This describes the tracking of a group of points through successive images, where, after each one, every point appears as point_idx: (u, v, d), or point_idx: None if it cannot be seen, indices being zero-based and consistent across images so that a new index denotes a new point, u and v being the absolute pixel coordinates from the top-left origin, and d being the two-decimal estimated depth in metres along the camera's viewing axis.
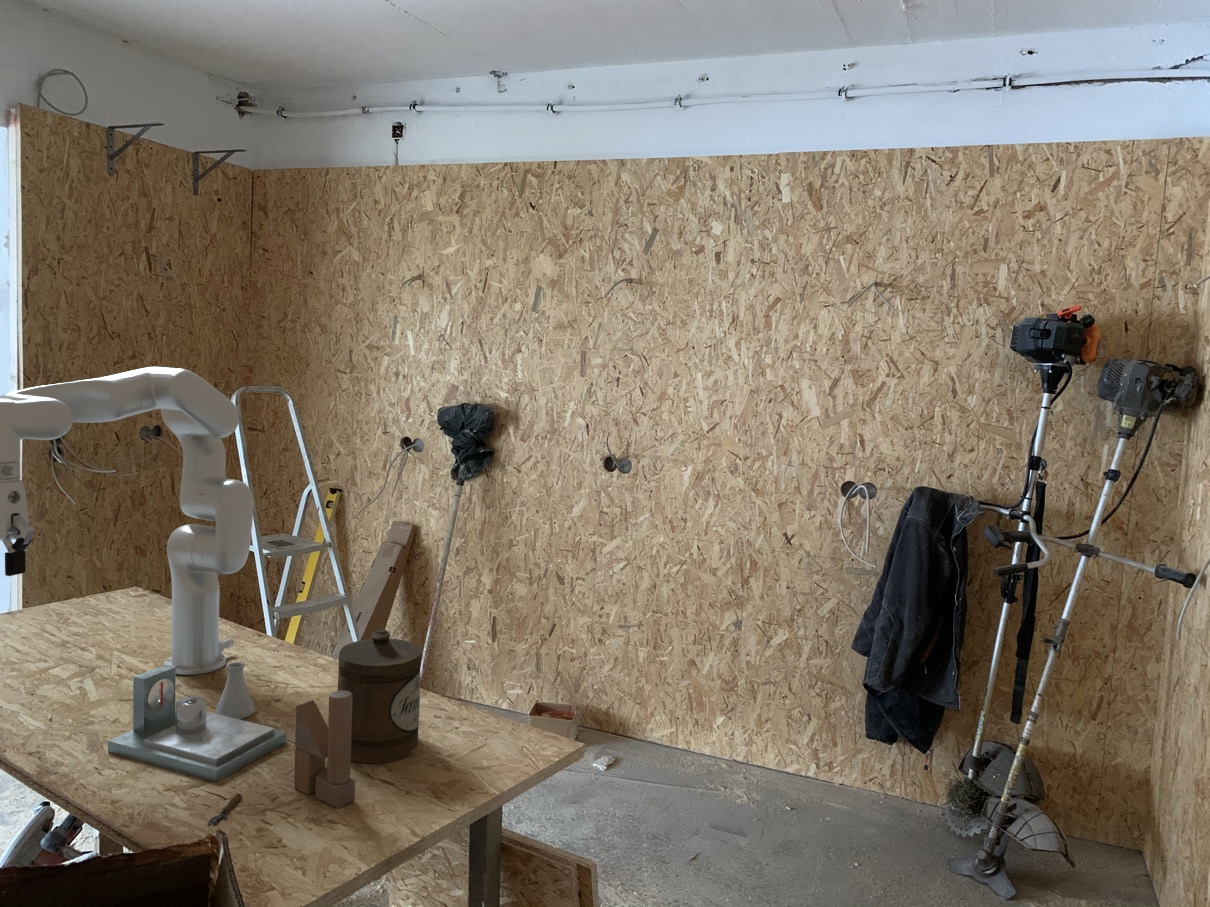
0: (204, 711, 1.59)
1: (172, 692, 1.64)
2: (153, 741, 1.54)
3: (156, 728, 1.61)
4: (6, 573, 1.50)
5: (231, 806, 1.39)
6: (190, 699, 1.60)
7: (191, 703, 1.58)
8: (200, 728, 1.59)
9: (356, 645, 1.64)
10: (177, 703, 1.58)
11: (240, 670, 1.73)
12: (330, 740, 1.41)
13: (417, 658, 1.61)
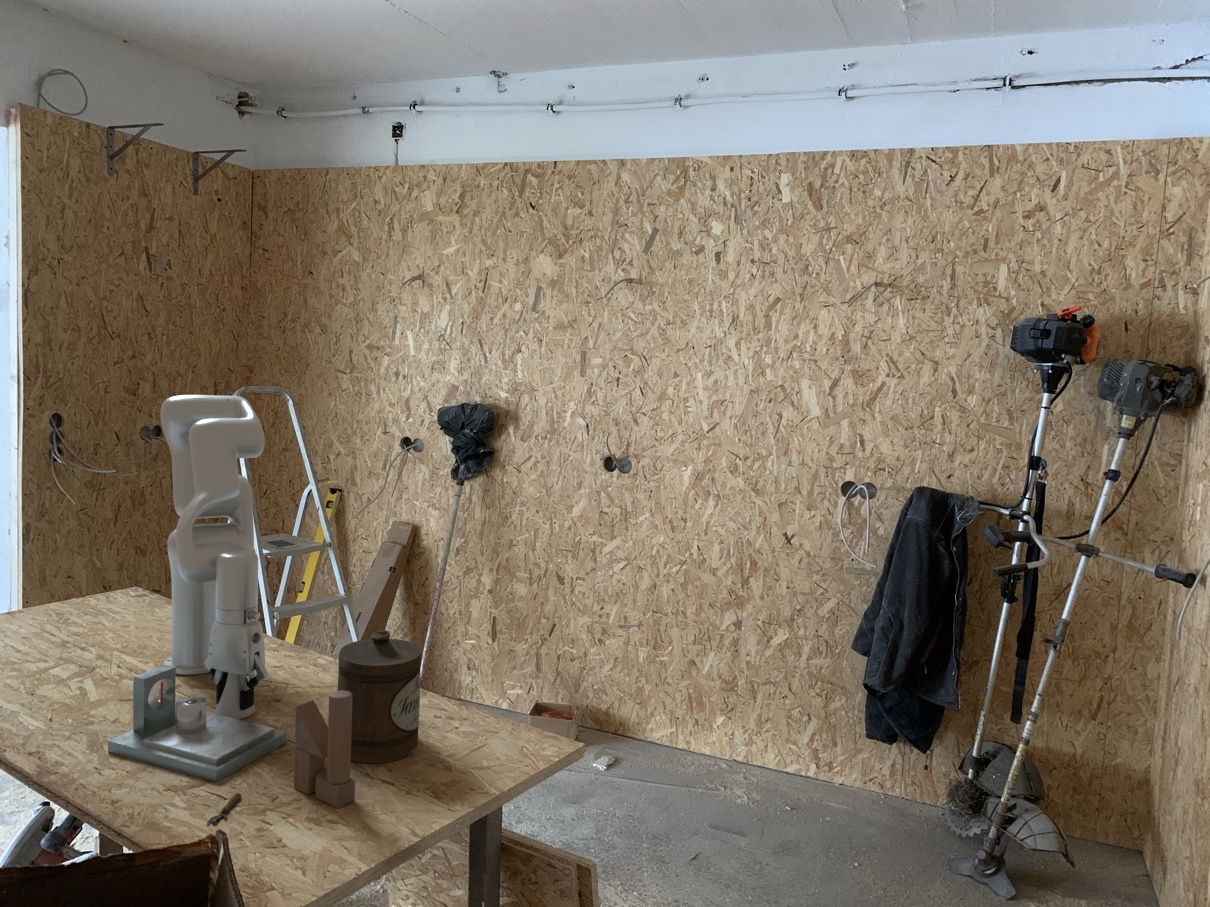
0: (204, 711, 1.59)
1: (172, 692, 1.64)
2: (153, 741, 1.54)
3: (156, 728, 1.61)
4: (241, 708, 1.72)
5: (231, 806, 1.39)
6: (190, 699, 1.60)
7: (191, 703, 1.58)
8: (200, 728, 1.59)
9: (356, 645, 1.64)
10: (177, 703, 1.58)
11: None
12: (330, 740, 1.41)
13: (417, 658, 1.61)
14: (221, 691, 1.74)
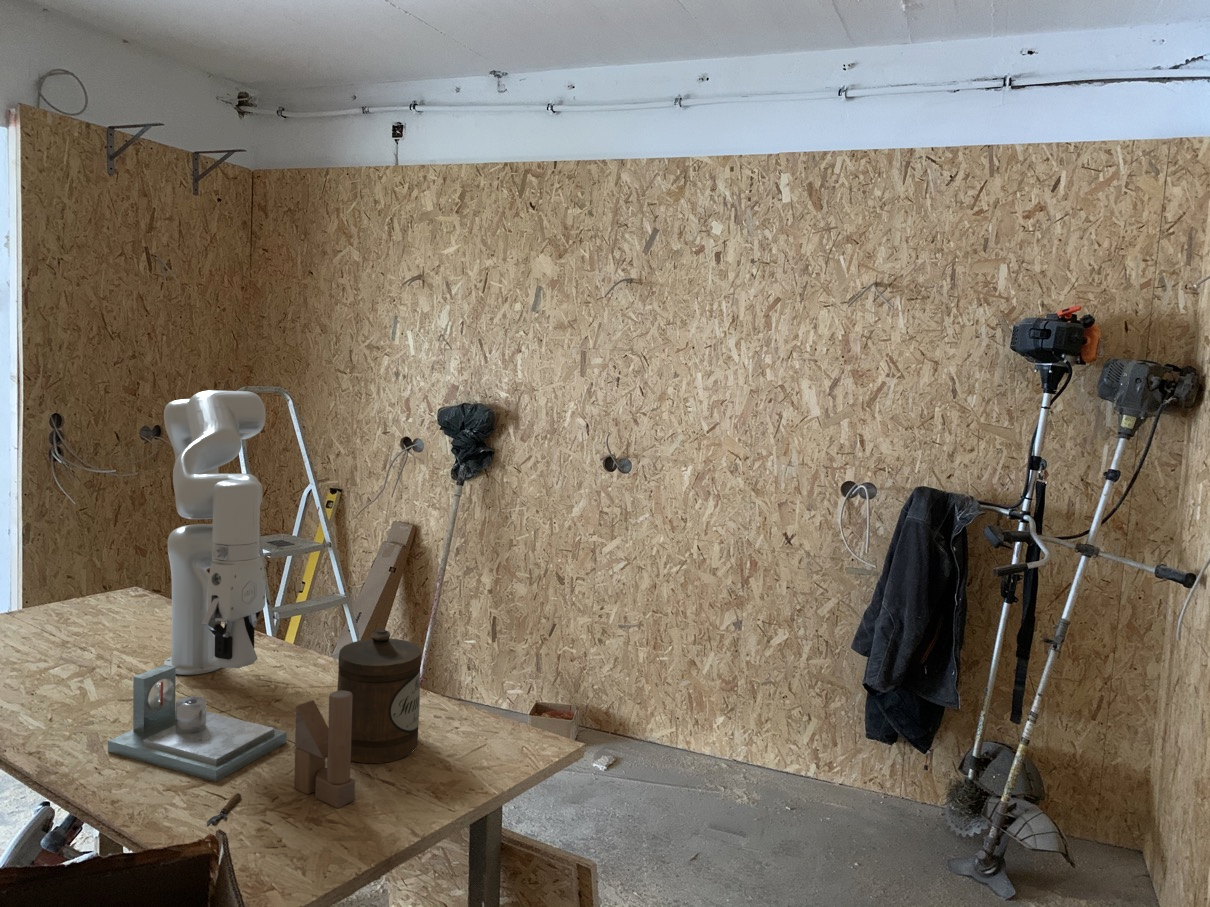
0: (204, 711, 1.59)
1: (172, 692, 1.64)
2: (153, 741, 1.54)
3: (156, 728, 1.61)
4: (215, 654, 1.54)
5: (230, 806, 1.39)
6: (190, 699, 1.60)
7: (191, 703, 1.58)
8: (200, 728, 1.59)
9: (356, 645, 1.64)
10: (177, 703, 1.58)
11: None
12: (330, 740, 1.41)
13: (417, 658, 1.61)
14: None
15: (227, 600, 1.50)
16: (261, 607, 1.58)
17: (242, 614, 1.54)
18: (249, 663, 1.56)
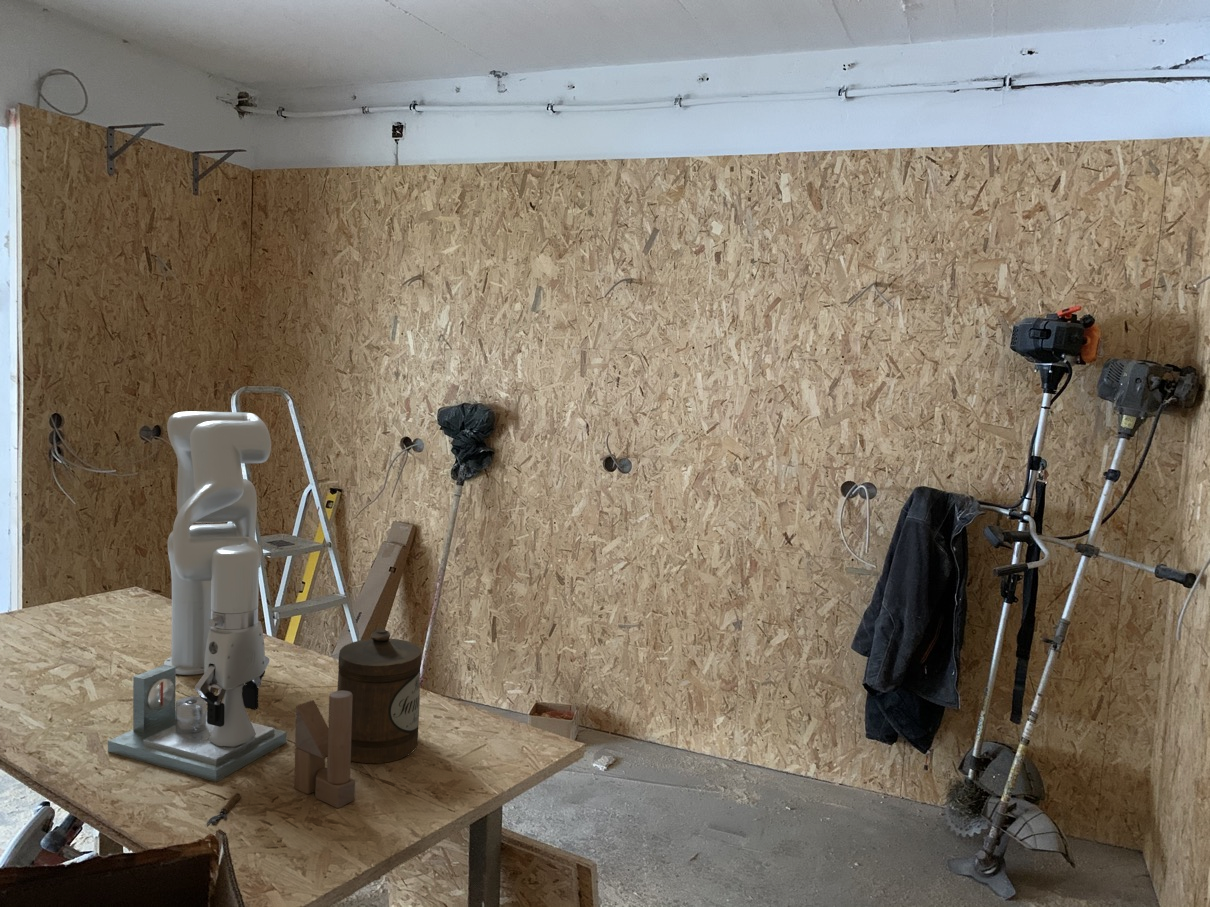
0: (204, 711, 1.59)
1: (172, 692, 1.64)
2: (153, 741, 1.54)
3: (156, 728, 1.61)
4: (208, 720, 1.53)
5: (230, 806, 1.39)
6: (190, 699, 1.60)
7: (191, 703, 1.58)
8: (200, 728, 1.59)
9: (356, 645, 1.64)
10: (177, 703, 1.58)
11: (227, 691, 1.54)
12: (330, 740, 1.41)
13: (417, 658, 1.60)
14: (243, 693, 1.60)
15: (223, 669, 1.50)
16: (260, 673, 1.58)
17: (240, 682, 1.53)
18: (246, 740, 1.55)
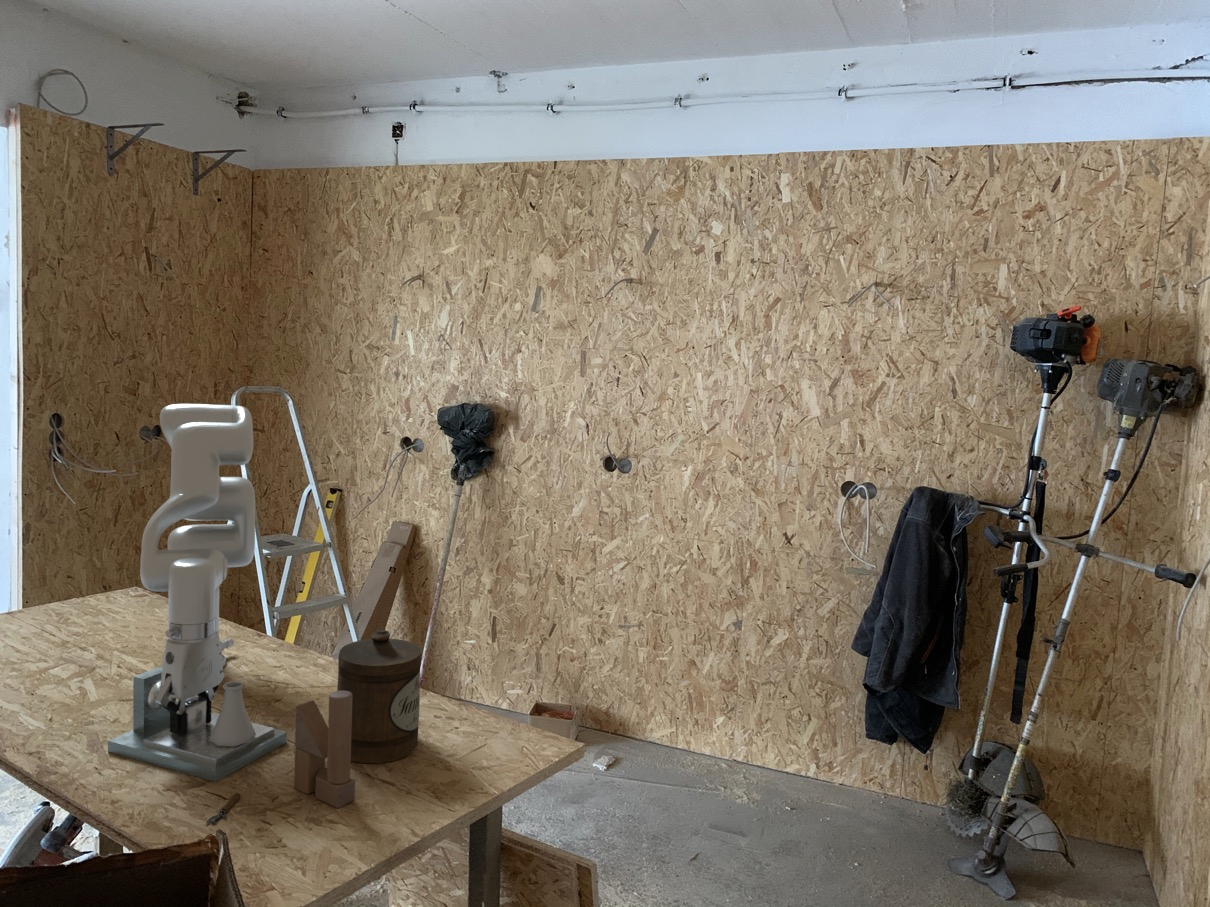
0: (204, 711, 1.59)
1: None
2: (153, 741, 1.54)
3: (156, 728, 1.61)
4: (170, 729, 1.58)
5: (230, 806, 1.39)
6: (190, 699, 1.60)
7: (191, 703, 1.58)
8: (200, 728, 1.59)
9: (356, 645, 1.64)
10: (177, 703, 1.58)
11: (227, 691, 1.55)
12: (330, 740, 1.41)
13: (417, 658, 1.60)
14: None
15: (180, 679, 1.53)
16: (217, 682, 1.61)
17: (196, 691, 1.56)
18: (246, 740, 1.55)
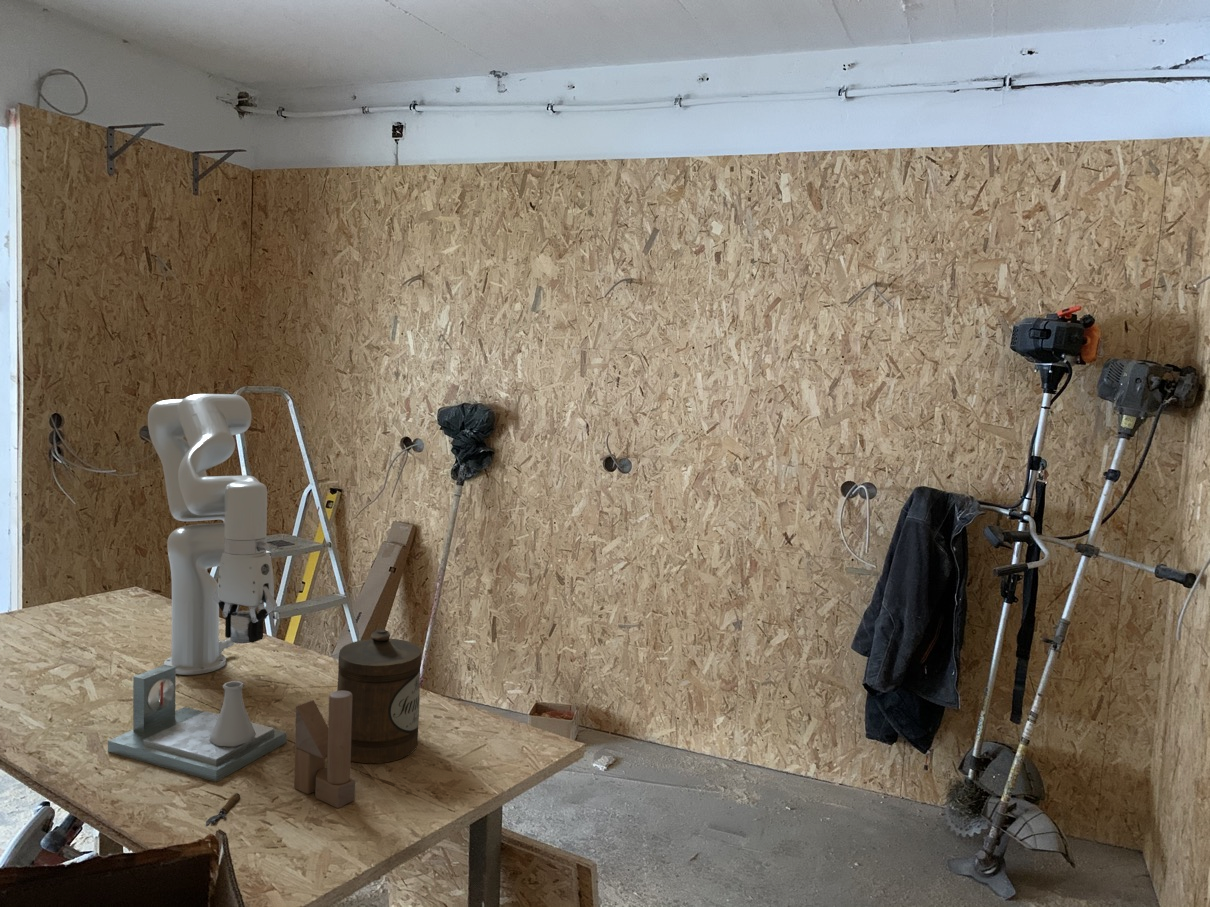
0: None
1: (172, 692, 1.64)
2: (153, 741, 1.54)
3: (156, 728, 1.61)
4: (250, 640, 1.71)
5: (229, 806, 1.39)
6: (238, 614, 1.72)
7: (249, 613, 1.73)
8: None
9: (356, 645, 1.64)
10: (246, 617, 1.71)
11: (227, 691, 1.55)
12: (330, 740, 1.41)
13: (417, 658, 1.60)
14: (230, 624, 1.73)
15: (273, 583, 1.72)
16: None
17: None
18: (246, 740, 1.55)
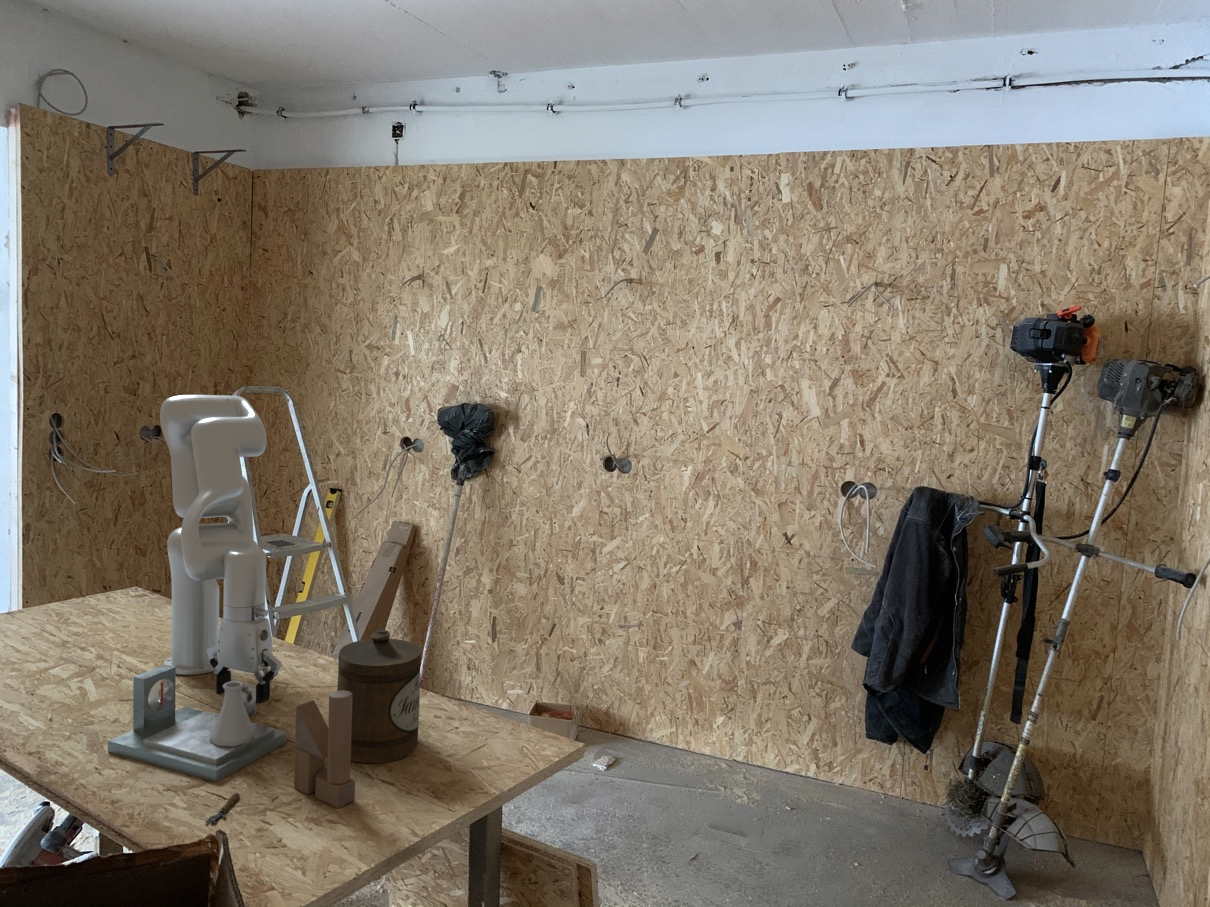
0: None
1: (172, 692, 1.64)
2: (153, 741, 1.54)
3: (156, 728, 1.61)
4: (257, 702, 1.71)
5: (229, 806, 1.39)
6: None
7: (247, 687, 1.75)
8: None
9: (356, 645, 1.64)
10: (244, 692, 1.73)
11: (227, 691, 1.55)
12: (330, 740, 1.41)
13: (417, 658, 1.60)
14: (221, 681, 1.75)
15: None
16: None
17: None
18: (246, 740, 1.55)
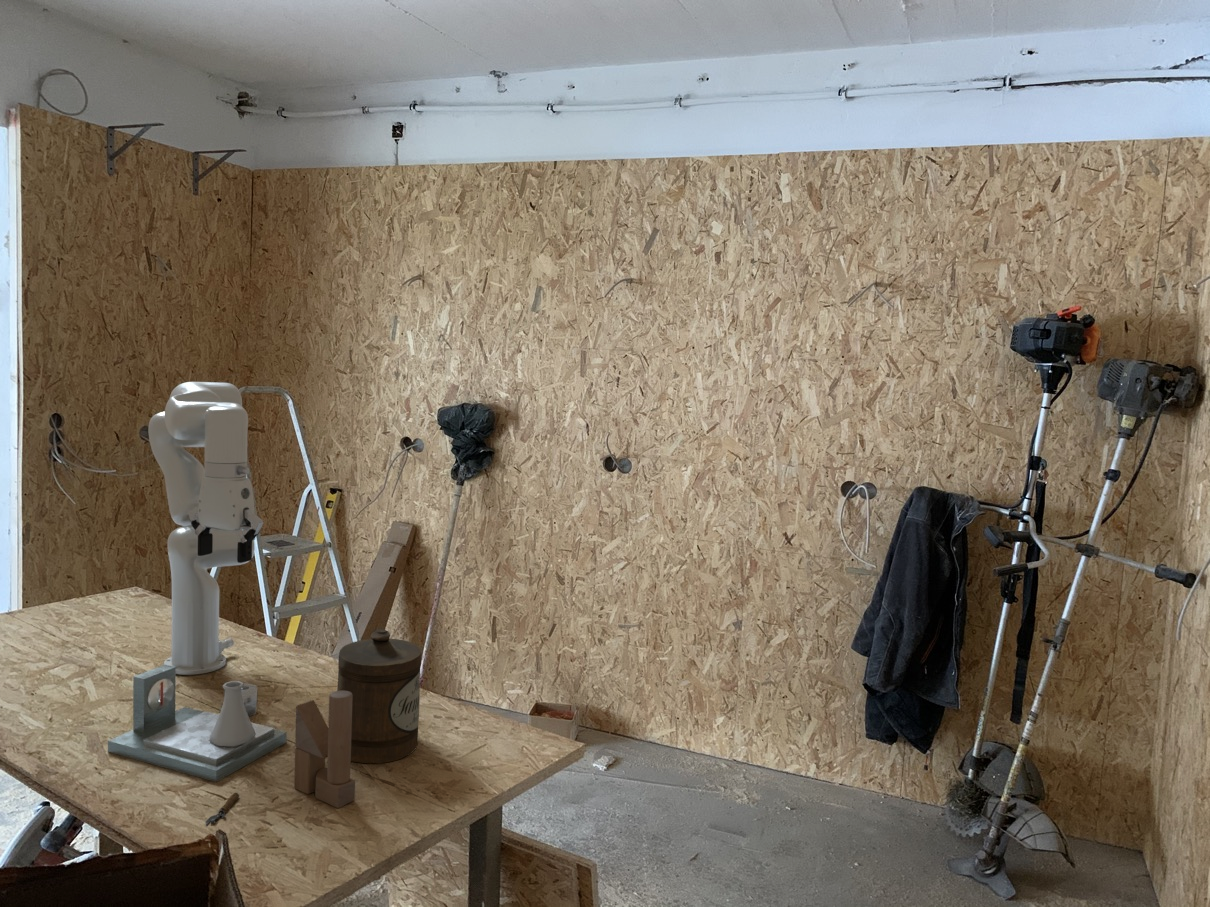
0: None
1: (172, 692, 1.64)
2: (153, 741, 1.54)
3: (156, 728, 1.61)
4: (238, 560, 1.70)
5: (229, 805, 1.39)
6: None
7: (248, 687, 1.75)
8: None
9: (356, 645, 1.64)
10: (245, 691, 1.73)
11: (227, 691, 1.55)
12: (330, 740, 1.41)
13: (417, 658, 1.60)
14: (202, 542, 1.73)
15: None
16: None
17: None
18: (246, 740, 1.55)
